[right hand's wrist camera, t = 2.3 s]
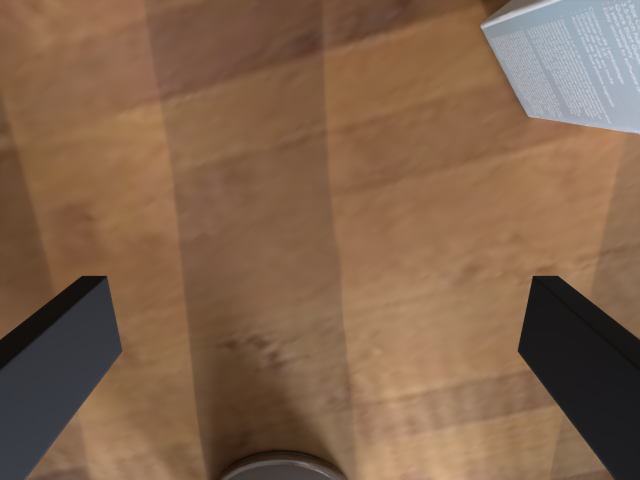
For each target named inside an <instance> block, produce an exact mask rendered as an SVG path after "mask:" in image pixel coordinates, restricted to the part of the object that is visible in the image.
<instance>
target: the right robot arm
mask: <svg viewBox="0 0 640 480" xmlns="http://www.w3.org/2000/svg"><path fill="white" fill-rule="evenodd" d="M121 352H122V347H121V342H120V337H119V332H118V327H117V323H116V318H115V313H114V308H113V303H112V298H111V293H110V289H109V284H108V279H107V276H81V277H80V278H79V279H78V280H76V281H75V282H74V283H72V284H71V285H70V286H69V287H67V288H66V289H65V290H63V291H62V292H61V293H60V294H58V295H57V296H56V297H55V298H53V299H52V300H51V301H49V302H48V303H47V304H46V305H44V306H43V307H42V308H40V309H39V310H38V311H37V312H35V313H34V314H33V315H32V316H30V317H29V318H28V319H26V320H25V321H24V322H23V323H21V324H20V325H19V326H17V327H16V328H15V329H14V330H12V331H11V332H10V333H9V334H7V335H6V336H5V337H3V338H2V339H1V340H0V480H25V479H26V478H27V477H28V475H29V474H30V473H31V471H32V470H33V469H34V467H35V466H36V465H37V463H38V462H39V461H40V459H41V458H42V457H43V455H44V454H45V453H46V451H47V450H48V449H49V447H50V446H51V445H52V443H53V442H54V441H55V440H56V438H57V437H58V436H59V434H60V433H61V432H62V430H63V429H64V428H65V426H66V425H67V424H68V422H69V421H70V420H71V418H72V417H73V416H74V414H75V413H76V412H77V410H78V409H79V408H80V406H81V405H82V404H83V403H84V401H85V400H86V399H87V397H88V396H89V395H90V393H91V392H92V391H93V389H94V388H95V387H96V385H97V384H98V383H99V381H100V380H101V379H102V377H103V376H104V375H105V373H106V372H107V371H108V369H109V368H110V367H111V365H112V364H113V363H114V362H115V360H116V359H117V358H118V356H119V355H120V354H121ZM518 352H519V354H520V355H521V356H522V358H523V359H524V360H525V362H526V363H527V364H528V365H529V367H530V368H531V369H532V371H533V372H534V373H535V375H536V376H537V377H538V379H539V380H540V381H541V383H542V384H543V385H544V387H545V388H546V389H547V391H548V392H549V393H550V395H551V396H552V397H553V399H554V400H555V401H556V403H557V404H558V405H559V406H560V408H561V409H562V410H563V412H564V413H565V414H566V416H567V417H568V418H569V420H570V421H571V422H572V424H573V425H574V426H575V428H576V429H577V430H578V432H579V433H580V434H581V436H582V437H583V438H584V440H585V441H586V442H587V443H588V445H589V446H590V447H591V449H592V450H593V451H594V453H595V454H596V455H597V457H598V458H599V459H600V461H601V462H602V463H603V465H604V466H605V467H606V469H607V470H608V471H609V473H610V474H611V475H612V477H613V478H614V479H615V480H640V340H639V339H638V338H637V337H635V336H634V335H633V334H631V333H630V332H629V331H628V330H626V329H625V328H624V327H623V326H621V325H620V324H619V323H617V322H616V321H615V320H614V319H612V318H611V317H610V316H608V315H607V314H606V313H605V312H603V311H602V310H601V309H600V308H598V307H597V306H596V305H594V304H593V303H592V302H591V301H589V300H588V299H587V298H585V297H584V296H583V295H582V294H580V293H579V292H578V291H577V290H575V289H574V288H573V287H571V286H570V285H569V284H568V283H566V282H565V281H564V280H562V279H561V278H560V277H559V276H533V279H532V284H531V289H530V293H529V298H528V303H527V308H526V313H525V318H524V323H523V327H522V332H521V337H520V342H519V347H518ZM217 480H347V478H346V477H345V476H344V475H343V474H342V473H341V472H340V471H339V470H337V469H336V468H335V467H333V466H332V465H330V464H329V463H327V462H325V461H323V460H321V459H318V458H316V457H313V456H310V455H306V454H302V453H296V452H286V451H275V452H266V453H260V454H256V455H252V456H249V457H246V458H244V459H242V460H240V461H238V462H236V463H234V464H233V465H231V466H230V467H229V468H227V469H226V470H225V471H224V472H223V473H222V474H221V475H220V477H219V478H218V479H217Z"/></svg>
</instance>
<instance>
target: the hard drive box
mask: <svg viewBox="0 0 640 480" xmlns="http://www.w3.org/2000/svg"><path fill="white" fill-rule="evenodd" d="M480 26H481V28H482V30H483V32H484V34H485V36H486V38H487V40H488V42H489V44H490V46H491V48H492V50H493V52H494V54H495V55H496V57H497V59H498V61H499V63H500V65H501V67H502V69H503V71H504V72H505V74H506V76H507V78H508V80H509V82H510V84H511V86H512V88H513V90H514V92H515V93H516V95H517V97H518V99H519V101H520V103H521V104H522V106H523V108H524V110H525V111H526V113H527V115H528V116H529V117H536V118H541V119H548V120H554V121H561V122H567V123H573V124H580V125H586V126H592V127H600V128H606V129H613V130H619V131H625V132H632V133H638V134H640V0H510V1H509V2H508V3H507V4H505V5H504V6H503V7H501V8H500V9H499V10H497V11H496V12H495V13H493V14H492V15H491V16H489V17H488V18H487V19H485V20H484V21H483V22H482V23H481V25H480Z"/></svg>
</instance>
